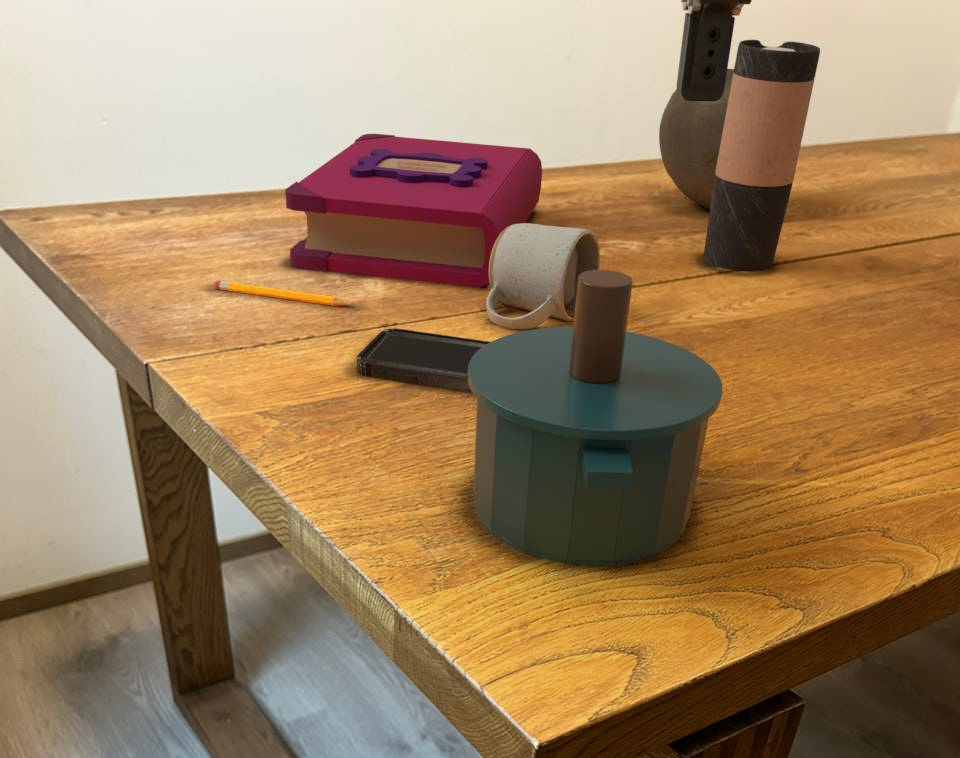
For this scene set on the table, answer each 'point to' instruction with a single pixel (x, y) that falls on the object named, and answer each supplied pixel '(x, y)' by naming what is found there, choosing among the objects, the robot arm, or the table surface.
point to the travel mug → (759, 153)
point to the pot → (583, 491)
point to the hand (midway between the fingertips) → (698, 97)
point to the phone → (419, 358)
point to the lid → (595, 373)
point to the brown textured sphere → (693, 142)
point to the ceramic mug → (538, 271)
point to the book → (413, 208)
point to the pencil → (280, 293)
